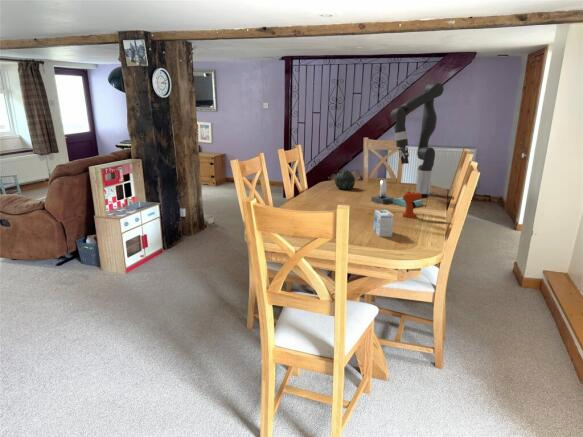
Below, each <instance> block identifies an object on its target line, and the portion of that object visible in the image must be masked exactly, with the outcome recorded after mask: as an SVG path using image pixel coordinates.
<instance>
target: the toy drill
mask: <svg viewBox="0 0 583 437" xmlns="http://www.w3.org/2000/svg"><path fill="white" fill-rule="evenodd" d="M437 196H438V194H429V195H427V194H421V193H418V192H416V191H415V192H413V191H412V192H411V191H406V192H405V193H404V194H403V195H402V197H403V200H404V201H405V202H406V207H405V211H404V212H402V218H405V217H406V218H408V219H416V218H417V217H418V215H417V214H415V213H414V210H415V208H417V206H416V205H415V203H414V201H417V200H423V199H428V197H430V198H431V197H437ZM406 218H405V219H406Z"/></svg>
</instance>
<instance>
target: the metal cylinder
mask: <svg viewBox="0 0 583 437" xmlns="http://www.w3.org/2000/svg"><path fill="white" fill-rule="evenodd" d="M387 183H388V180H387V179H381V180H380V183H379V195H380V196H379V195H378V196H379V198H386V196H387Z"/></svg>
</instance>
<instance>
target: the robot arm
mask: <svg viewBox="0 0 583 437" xmlns="http://www.w3.org/2000/svg"><path fill="white" fill-rule="evenodd" d="M444 90H445V89H444V85H443V84H442V83H440V82H431V83H428V84H426V86H425V88H424V92H423V93H421V94H419V95H417V96H414V97H412V98H410V99H409V100H407V101H406V102H404V103H403V104H402V105H400V106H398V107H396V108H394V109H393V110H391V112H390V118H391V120H393V121H395V124H394V126H393V127H394V136H395V143H396V148H398V149H397V151H398V157H399V158H400V162H401V164H402V165H406V164H409V163H410V162H409V157H410V153H409V147H408V146H409V141H408V139H409V138H408V133H407V129H406V128H407V127H406V119H407V118H406V117H407V114H409V113H412V112H413V111H415V110H416V109H417V108H419V107H421V106H422V105H423V113H422V120H421V130H420V137H419V143H418V147H417V152H416V155H417V158H418V159H419V160H423V162H422V164H420V165H418V168H417V178H416V187H415V188H416V189H415V193H416V192H418V193H421V194H427V195H431V188H432V172H433V167H434V163H435V157H436V151H435V149H434V148H433V147H430V146H429V140H430V138H431V136H432V135H433V133H434V131H435V130H436V126H437V116H438V115H437V112H436V109H435V106H434V104H435V103H434V101H435V99H436V98H438V97H441V96H442V94H443V93H444Z"/></svg>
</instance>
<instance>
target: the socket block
mask: <svg viewBox="0 0 583 437" xmlns="http://www.w3.org/2000/svg"><path fill="white" fill-rule="evenodd" d="M379 196H380V194H378V195H375V196H371V200H370V201H371V202H374V203H377V204H380V205H381V204H382V205H385V204H390V203H391V202H392V203H393V199H395V198H394V197H393V196H387V195H386V198H379ZM392 203H391V204H392Z"/></svg>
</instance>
